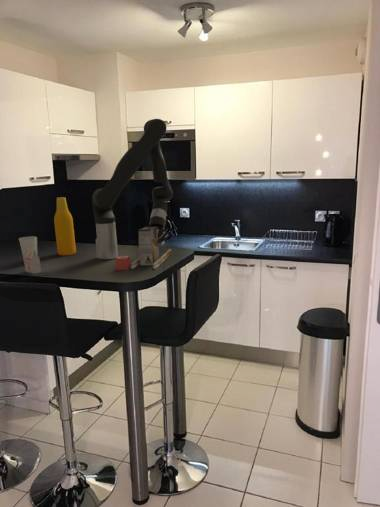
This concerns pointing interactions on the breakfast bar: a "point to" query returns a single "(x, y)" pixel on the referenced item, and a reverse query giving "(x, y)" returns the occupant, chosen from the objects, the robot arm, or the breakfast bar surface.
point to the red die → (122, 262)
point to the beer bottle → (64, 229)
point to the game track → (155, 262)
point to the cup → (28, 244)
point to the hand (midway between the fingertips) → (152, 250)
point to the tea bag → (32, 262)
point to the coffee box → (148, 245)
